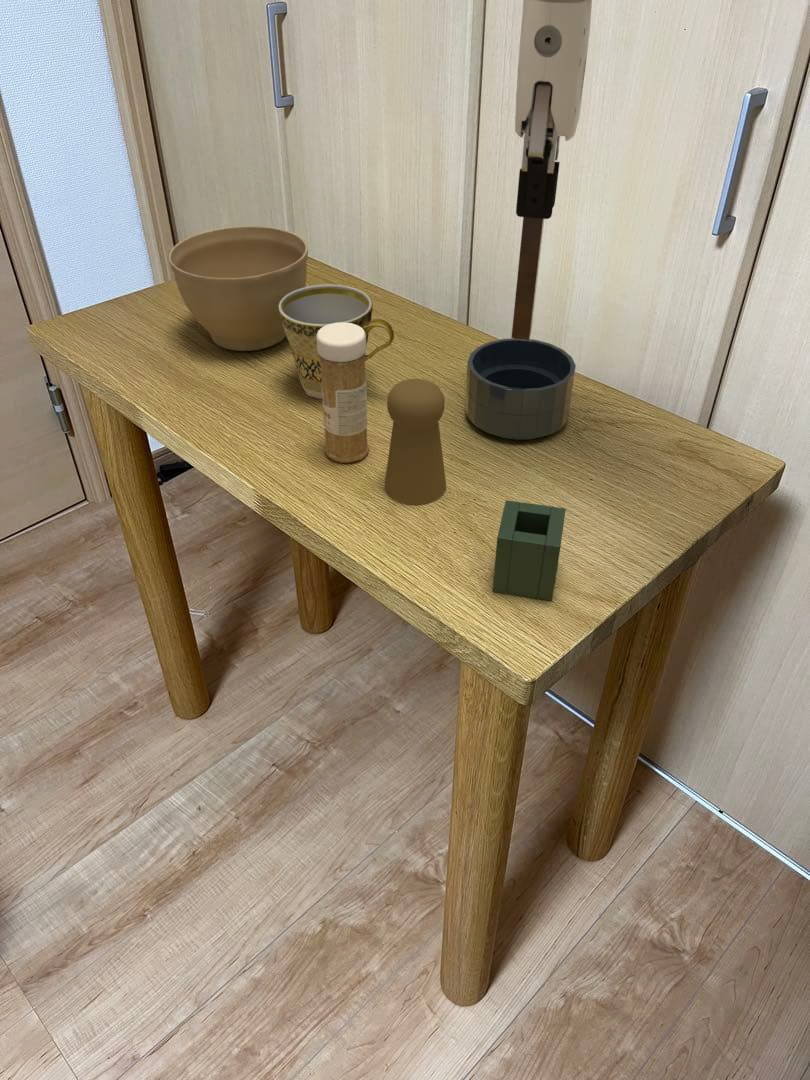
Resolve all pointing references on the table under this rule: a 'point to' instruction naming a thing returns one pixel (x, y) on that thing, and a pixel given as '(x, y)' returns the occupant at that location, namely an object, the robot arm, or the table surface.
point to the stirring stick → (527, 276)
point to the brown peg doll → (415, 443)
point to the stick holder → (528, 550)
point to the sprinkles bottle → (344, 390)
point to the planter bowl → (240, 282)
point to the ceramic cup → (316, 310)
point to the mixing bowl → (519, 388)
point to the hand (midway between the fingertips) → (535, 210)
